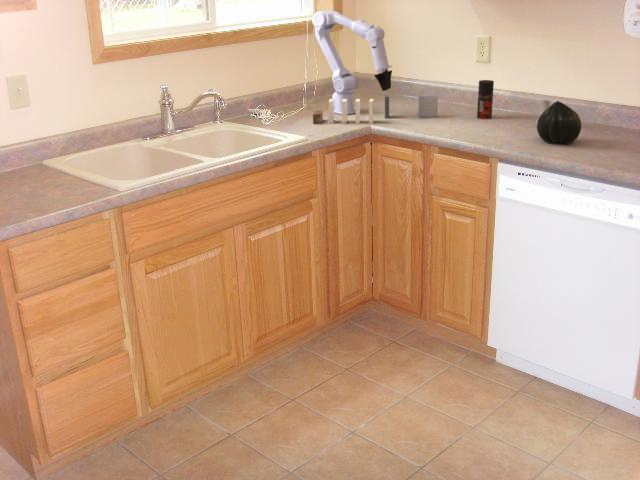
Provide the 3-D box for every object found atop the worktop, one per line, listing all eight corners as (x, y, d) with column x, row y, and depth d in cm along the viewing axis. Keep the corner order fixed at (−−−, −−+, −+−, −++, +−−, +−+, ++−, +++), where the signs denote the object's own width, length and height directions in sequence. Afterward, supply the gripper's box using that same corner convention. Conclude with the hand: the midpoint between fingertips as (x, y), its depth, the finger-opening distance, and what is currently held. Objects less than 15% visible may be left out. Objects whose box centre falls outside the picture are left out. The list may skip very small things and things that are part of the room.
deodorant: (475, 118, 307) (477, 82, 301) (478, 115, 312) (480, 79, 306) (490, 119, 305) (492, 82, 299) (492, 116, 310) (495, 80, 304)
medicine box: (436, 115, 315) (437, 94, 311) (437, 117, 310) (437, 96, 307) (417, 115, 315) (418, 95, 312) (418, 117, 311) (418, 97, 308)
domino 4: (368, 123, 304) (368, 101, 300) (369, 120, 308) (369, 99, 305) (372, 123, 304) (372, 101, 300) (373, 120, 308) (373, 98, 305)
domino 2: (342, 123, 305) (341, 101, 302) (343, 120, 310) (343, 99, 306) (346, 123, 305) (345, 101, 302) (347, 120, 309) (346, 99, 306)
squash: (572, 134, 255) (581, 97, 259) (529, 132, 263) (539, 95, 267) (578, 154, 267) (587, 118, 271) (537, 151, 275) (546, 115, 279)
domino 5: (384, 118, 311) (385, 97, 308) (385, 115, 316) (385, 94, 313) (388, 118, 311) (388, 97, 308) (389, 115, 316) (389, 94, 313)
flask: (555, 124, 293) (557, 99, 290) (552, 128, 287) (554, 103, 284) (536, 123, 296) (538, 98, 293) (533, 127, 290) (535, 102, 286)
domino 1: (328, 123, 306) (328, 101, 302) (330, 120, 310) (329, 99, 307) (332, 123, 306) (332, 101, 302) (334, 120, 310) (333, 99, 307)
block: (313, 123, 305) (312, 114, 304) (315, 119, 312) (315, 110, 311) (320, 123, 305) (320, 114, 303) (322, 119, 312) (322, 110, 311)
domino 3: (355, 123, 304) (355, 101, 301) (356, 120, 309) (356, 99, 306) (359, 123, 304) (359, 101, 301) (360, 120, 309) (360, 98, 305)
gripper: (386, 55, 297) (393, 88, 300) (392, 53, 311) (398, 86, 314) (369, 59, 299) (376, 92, 302) (375, 57, 313) (382, 89, 316)
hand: (386, 89), depth 308 cm, fingers open, 7 cm apart
